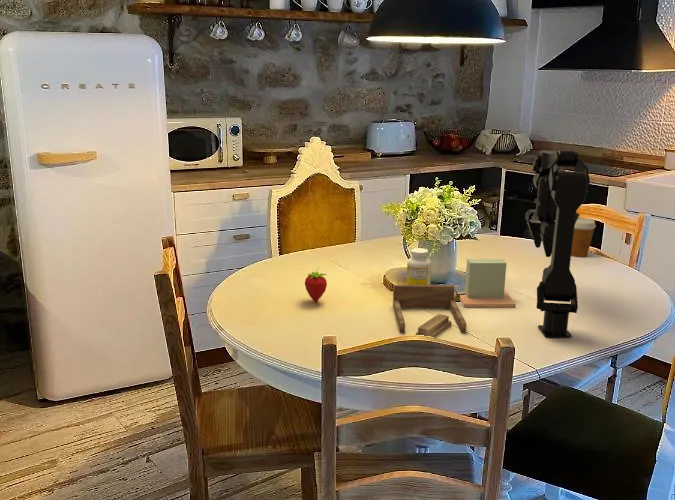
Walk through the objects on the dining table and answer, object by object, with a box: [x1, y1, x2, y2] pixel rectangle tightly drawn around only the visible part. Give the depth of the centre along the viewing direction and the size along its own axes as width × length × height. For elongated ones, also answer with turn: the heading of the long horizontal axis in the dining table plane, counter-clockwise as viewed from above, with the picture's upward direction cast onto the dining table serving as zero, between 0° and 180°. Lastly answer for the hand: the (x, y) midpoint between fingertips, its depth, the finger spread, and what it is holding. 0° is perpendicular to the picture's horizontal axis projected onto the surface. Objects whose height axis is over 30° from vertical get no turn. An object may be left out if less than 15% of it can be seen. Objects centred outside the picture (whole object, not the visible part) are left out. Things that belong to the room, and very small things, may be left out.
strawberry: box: [304, 268, 328, 303], centre depth 183 cm, size 6×8×10 cm
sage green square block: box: [464, 258, 507, 298], centre depth 187 cm, size 4×10×10 cm, turn 91°
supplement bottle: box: [406, 247, 432, 285], centre depth 190 cm, size 7×7×13 cm
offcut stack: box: [415, 313, 452, 337], centre depth 166 cm, size 4×12×3 cm, turn 141°
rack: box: [392, 284, 467, 334], centre depth 173 cm, size 18×16×6 cm
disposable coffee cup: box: [571, 217, 597, 258], centre depth 229 cm, size 10×10×12 cm
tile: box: [459, 288, 517, 309], centre depth 188 cm, size 14×14×1 cm
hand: (542, 252), depth 187 cm, fingers open, 9 cm apart
